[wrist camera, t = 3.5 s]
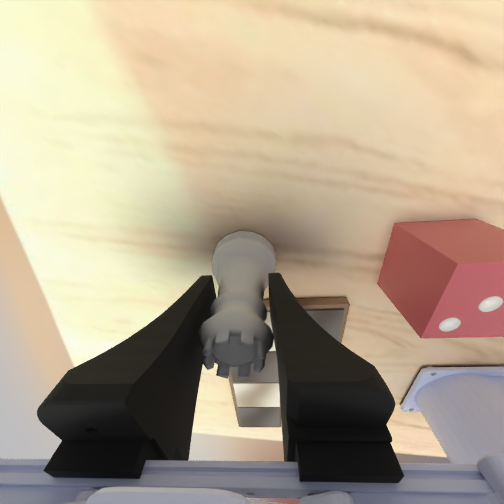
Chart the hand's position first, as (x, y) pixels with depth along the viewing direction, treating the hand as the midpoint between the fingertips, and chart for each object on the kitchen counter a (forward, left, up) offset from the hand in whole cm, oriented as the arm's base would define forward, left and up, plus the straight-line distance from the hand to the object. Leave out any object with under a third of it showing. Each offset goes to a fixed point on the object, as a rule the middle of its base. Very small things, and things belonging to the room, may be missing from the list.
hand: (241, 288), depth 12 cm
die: (-12, 0, -4) cm, 13 cm away
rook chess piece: (0, 0, -4) cm, 4 cm away
